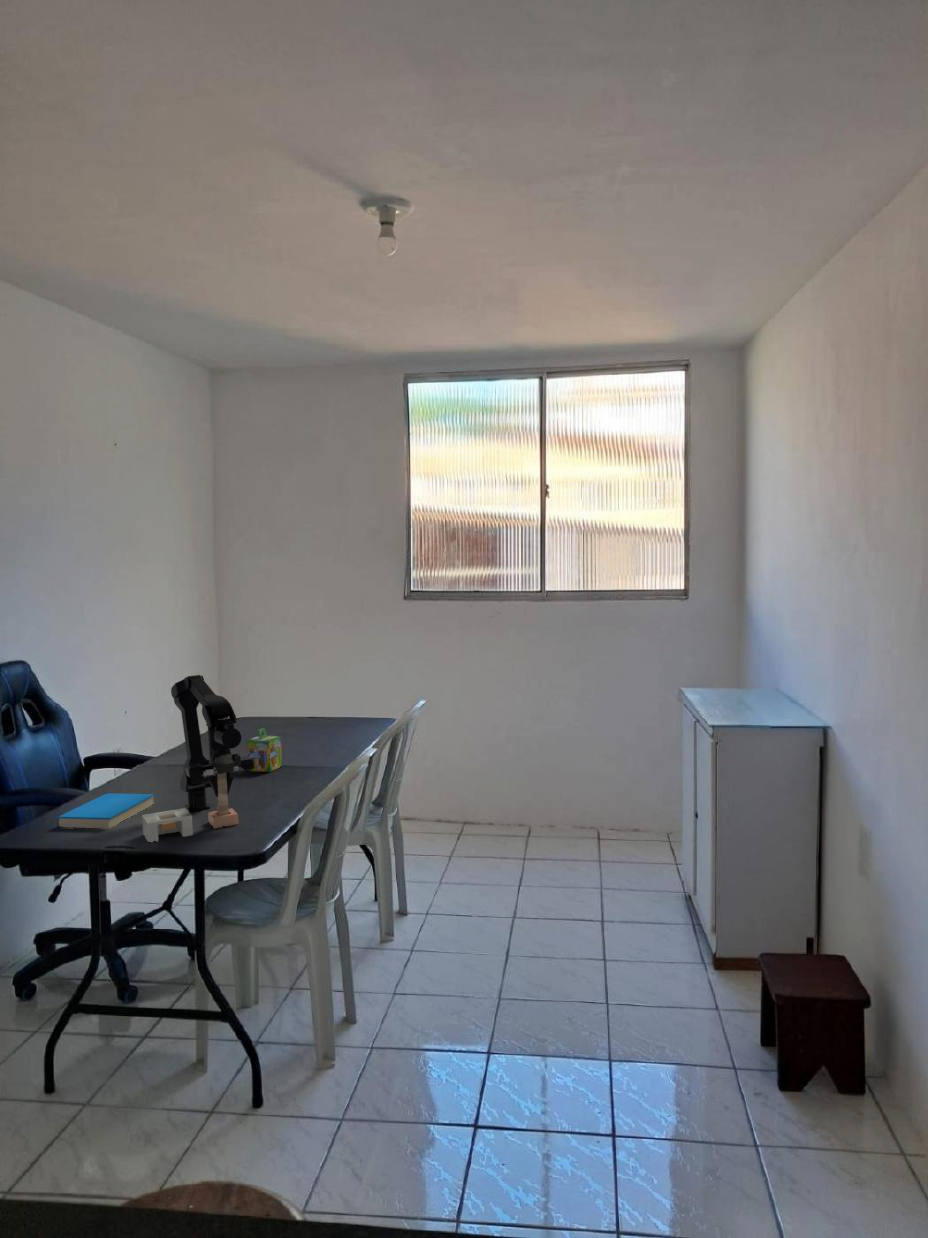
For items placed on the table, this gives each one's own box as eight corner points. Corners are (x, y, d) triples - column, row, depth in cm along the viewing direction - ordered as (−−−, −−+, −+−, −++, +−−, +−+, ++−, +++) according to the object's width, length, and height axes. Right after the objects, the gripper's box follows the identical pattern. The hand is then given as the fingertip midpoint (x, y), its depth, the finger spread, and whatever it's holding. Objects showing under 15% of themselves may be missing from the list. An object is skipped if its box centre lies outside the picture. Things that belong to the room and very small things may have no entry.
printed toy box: (270, 773, 325) (267, 732, 324) (247, 771, 328) (245, 731, 327) (283, 766, 334) (281, 726, 332) (261, 765, 337) (259, 726, 335)
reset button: (160, 826, 257) (160, 821, 256) (173, 824, 258) (173, 819, 258) (162, 830, 253) (162, 824, 253) (176, 827, 255) (175, 822, 255)
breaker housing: (143, 834, 258) (141, 815, 258) (186, 827, 264) (185, 808, 263) (148, 843, 250) (147, 823, 249) (193, 835, 255) (192, 816, 255)
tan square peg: (217, 812, 266) (215, 772, 265) (226, 811, 268) (224, 771, 267) (219, 814, 264) (217, 774, 263) (228, 813, 265) (226, 772, 264)
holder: (208, 822, 268) (208, 812, 267) (232, 818, 271) (231, 808, 271) (214, 828, 261) (213, 818, 261) (238, 824, 265) (237, 814, 264)
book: (154, 794, 288) (109, 816, 264) (155, 807, 289) (110, 831, 264) (104, 793, 292) (56, 815, 267) (105, 806, 292) (57, 829, 267)
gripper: (191, 752, 253) (195, 807, 254) (258, 743, 261) (261, 797, 263) (183, 745, 262) (187, 798, 264) (248, 737, 271) (251, 788, 272)
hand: (222, 796), depth 265 cm, fingers closed on tan square peg, 3 cm apart
